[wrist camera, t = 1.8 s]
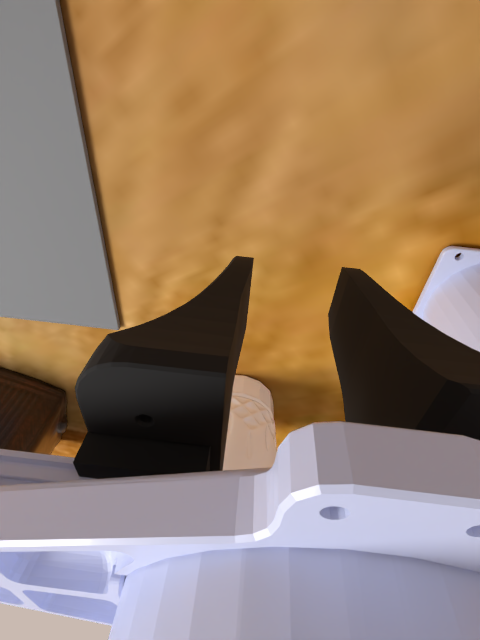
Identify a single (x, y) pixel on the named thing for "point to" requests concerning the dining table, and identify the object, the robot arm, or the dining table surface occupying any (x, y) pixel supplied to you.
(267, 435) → the white cup
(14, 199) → the mat
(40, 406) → the coffee grinder
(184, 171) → the dining table surface
